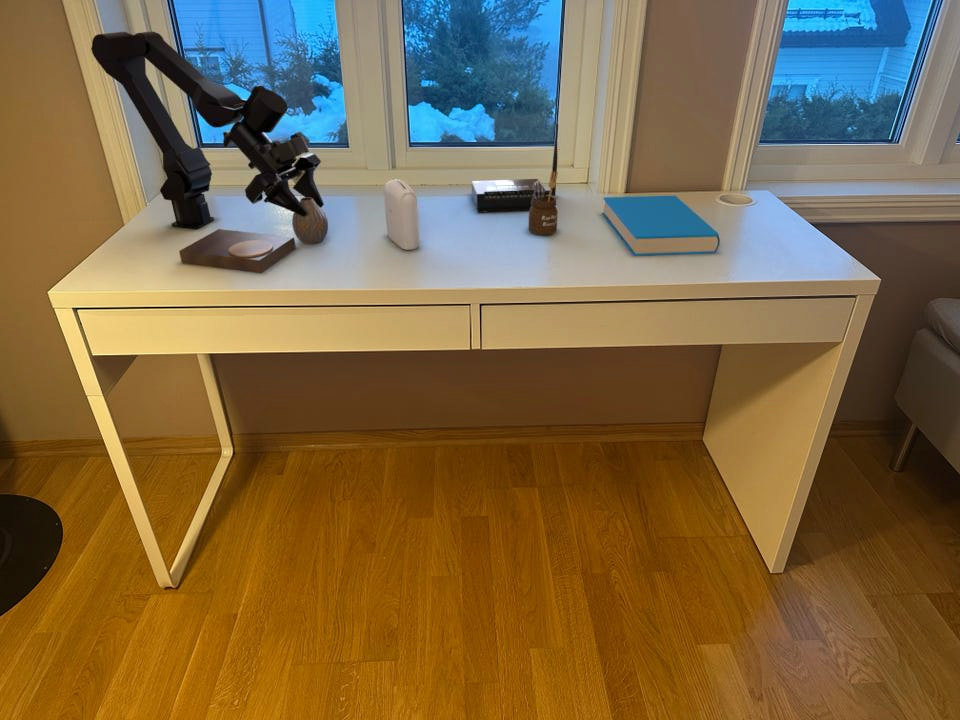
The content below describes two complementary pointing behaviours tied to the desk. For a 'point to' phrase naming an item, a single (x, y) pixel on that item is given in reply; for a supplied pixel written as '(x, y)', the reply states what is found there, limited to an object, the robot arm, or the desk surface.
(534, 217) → the utensil holder
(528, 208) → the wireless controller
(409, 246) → the photo printer
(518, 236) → the desk surface
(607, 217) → the book
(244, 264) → the riser board
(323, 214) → the vase
